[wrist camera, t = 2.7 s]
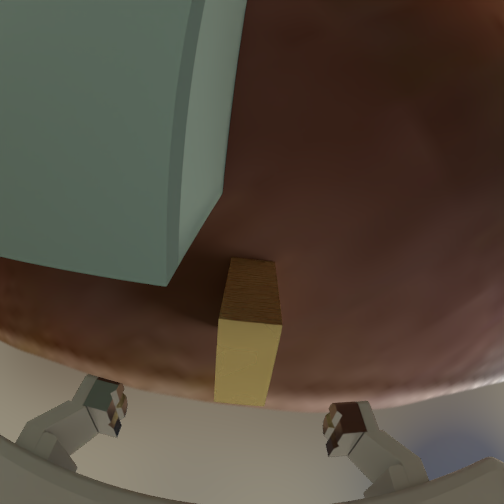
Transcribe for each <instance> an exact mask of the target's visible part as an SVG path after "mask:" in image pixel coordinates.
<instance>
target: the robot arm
mask: <svg viewBox="0 0 504 504" xmlns="http://www.w3.org/2000/svg"><path fill="white" fill-rule="evenodd" d="M123 391H124V386H123V384H122V383H118V382H115V381H111V380H107V379H104V378H100V377H97V376H93V375H90V374H88V375H87V376H85V378H84V380H83V381H82V383H81V385H80V387H79V388H78V390H77V392H76V394H75V396H74V397H73V399H72V401H66V402H65V403H63V404H61V405H59V406H57V407H55V408H53V409H51V410H49V411H48V412H46V413H44V414H42V415H40V416H38V417H36V418H34V419H32V420H30V421H28V422H27V424H26V425H25V427H24V429H23V430H22V432H21V434H20V436H19V437H18V439H17V441H16V443H13V442H11V441H10V440H8V439H6V438H5V437H3V436H1V435H0V504H196V503H188V502H182V501H176V500H170V499H165V498H160V497H155V496H150V495H146V494H142V493H138V492H134V491H130V490H127V489H123V488H119V487H116V486H113V485H109V484H106V483H103V482H100V481H97V480H94V479H92V478H89V477H86V476H83V475H81V474H78V473H76V470H77V466H76V464H75V463H74V461H73V460H72V459H71V457H70V455H71V454H73V453H74V452H75V451H76V450H78V449H79V448H81V447H82V446H83V445H84V444H85V443H87V442H88V441H90V440H91V439H92V438H94V437H95V436H96V435H97V434H98V433H101V434H105V435H108V436H112V437H118V434H119V431H120V429H121V422H120V420H121V419H123V418H124V417H125V415H126V412H127V405H128V404H127V397H126V396H125V395H124V394H123ZM329 411H330V413H328V414H327V415H326V416H325V418H324V421H323V434H324V436H325V437H326V438H327V439H328V441H327V443H326V448H327V453H328V457H339V456H348V458H349V459H350V460H351V461H352V462H353V463H354V464H355V465H356V466H357V467H358V468H359V469H360V470H361V472H363V474H364V475H366V477H367V478H368V479H369V480H370V481H371V482H372V483H373V484H372V485H371V486H370V487H369V488H368V489H367V490H366V491H365V492H364V497H365V498H364V499H359V500H353V501H348V502H341V503H334V504H504V463H503V462H501V461H499V460H498V459H496V458H493V457H486V458H484V459H482V460H480V461H477V462H475V463H473V464H471V465H469V466H467V467H465V468H462V469H460V470H457V471H455V472H452V473H450V474H447V475H445V476H442V477H439V478H436V479H434V480H431V481H429V479H428V476H427V474H426V471H425V469H424V466H423V464H422V461H421V459H420V458H419V457H418V456H417V455H415V454H414V453H412V452H411V451H410V450H408V449H407V448H406V447H404V446H403V445H402V444H400V443H399V442H398V441H396V440H395V439H394V438H392V437H391V436H390V435H388V434H387V433H386V432H385V431H383V430H379V428H378V425H377V422H376V419H375V417H374V414H373V412H372V409H371V406H370V404H369V402H368V401H360V402H342V403H332V404H331V405H330V407H329Z"/></svg>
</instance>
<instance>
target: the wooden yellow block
mask: <svg viewBox="0 0 504 504" xmlns="http://www.w3.org/2000/svg"><path fill="white" fill-rule="evenodd" d="M281 330H282V317H281V308H280V300H279V292H278V284H277V276H276V268H275V262H271V261H262V260H253V259H244V258H236V257H232V258H231V262H230V267H229V272H228V276H227V281H226V286H225V291H224V295H223V300H222V305H221V310H220V315H219V322H218V337H217V353H216V371H215V390H214V401H215V402H223V403H232V404H242V405H253V406H264V404H265V400H266V396H267V392H268V388H269V384H270V379H271V375H272V371H273V366H274V362H275V358H276V353H277V349H278V344H279V339H280V335H281Z"/></svg>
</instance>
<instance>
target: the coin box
mask: <svg viewBox="0 0 504 504" xmlns="http://www.w3.org/2000/svg"><path fill="white" fill-rule="evenodd" d="M246 3H247V0H0V257H4V258H9V259H13V260H18V261H23V262H27V263H32V264H37V265H42V266H47V267H52V268H57V269H63V270H68V271H73V272H79V273H84V274H90V275H96V276H101V277H107V278H113V279H119V280H126V281H132V282H138V283H145V284H151V285H158V286H165V287H167V285H168V283H169V281H170V280H171V278H172V276H173V274H174V273H175V271H176V269H177V267H178V266H179V264H180V262H181V261H182V259H183V257H184V255H185V254H186V252H187V250H188V249H189V247H190V245H191V244H192V242H193V240H194V239H195V237H196V235H197V234H198V232H199V230H200V229H201V227H202V225H203V224H204V222H205V220H206V219H207V217H208V216H209V214H210V212H211V211H212V209H213V208H214V206H215V204H216V203H217V201H218V200H219V198H220V196H221V195H222V193H223V183H224V173H225V163H226V154H227V144H228V135H229V127H230V118H231V110H232V101H233V93H234V86H235V78H236V71H237V63H238V56H239V49H240V42H241V35H242V29H243V22H244V16H245V10H246Z"/></svg>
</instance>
